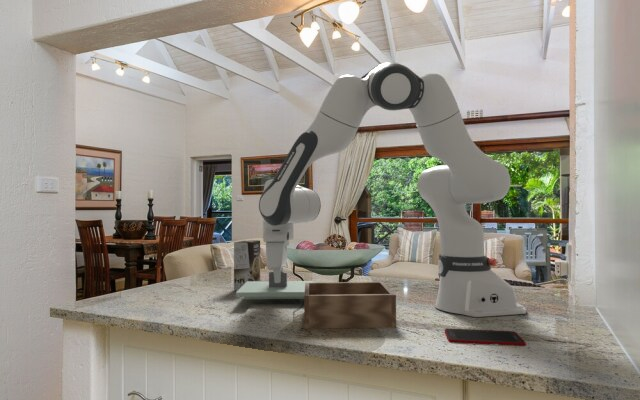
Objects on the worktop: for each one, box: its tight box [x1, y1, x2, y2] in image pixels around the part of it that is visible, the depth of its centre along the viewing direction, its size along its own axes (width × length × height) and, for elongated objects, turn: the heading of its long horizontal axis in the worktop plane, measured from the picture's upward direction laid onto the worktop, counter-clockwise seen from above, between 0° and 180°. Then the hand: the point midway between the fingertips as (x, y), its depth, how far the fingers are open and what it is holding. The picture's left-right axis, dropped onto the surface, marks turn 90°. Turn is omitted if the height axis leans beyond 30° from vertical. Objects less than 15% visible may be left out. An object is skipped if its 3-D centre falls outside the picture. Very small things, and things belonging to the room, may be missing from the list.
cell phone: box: [444, 328, 527, 347], centre depth 85 cm, size 8×15×1 cm, turn 80°
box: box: [303, 281, 397, 329], centre depth 98 cm, size 20×16×8 cm
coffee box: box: [233, 239, 261, 292], centre depth 139 cm, size 9×6×16 cm
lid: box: [235, 271, 316, 300], centre depth 119 cm, size 21×17×6 cm
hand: (278, 281), depth 119 cm, fingers closed on lid, 2 cm apart
